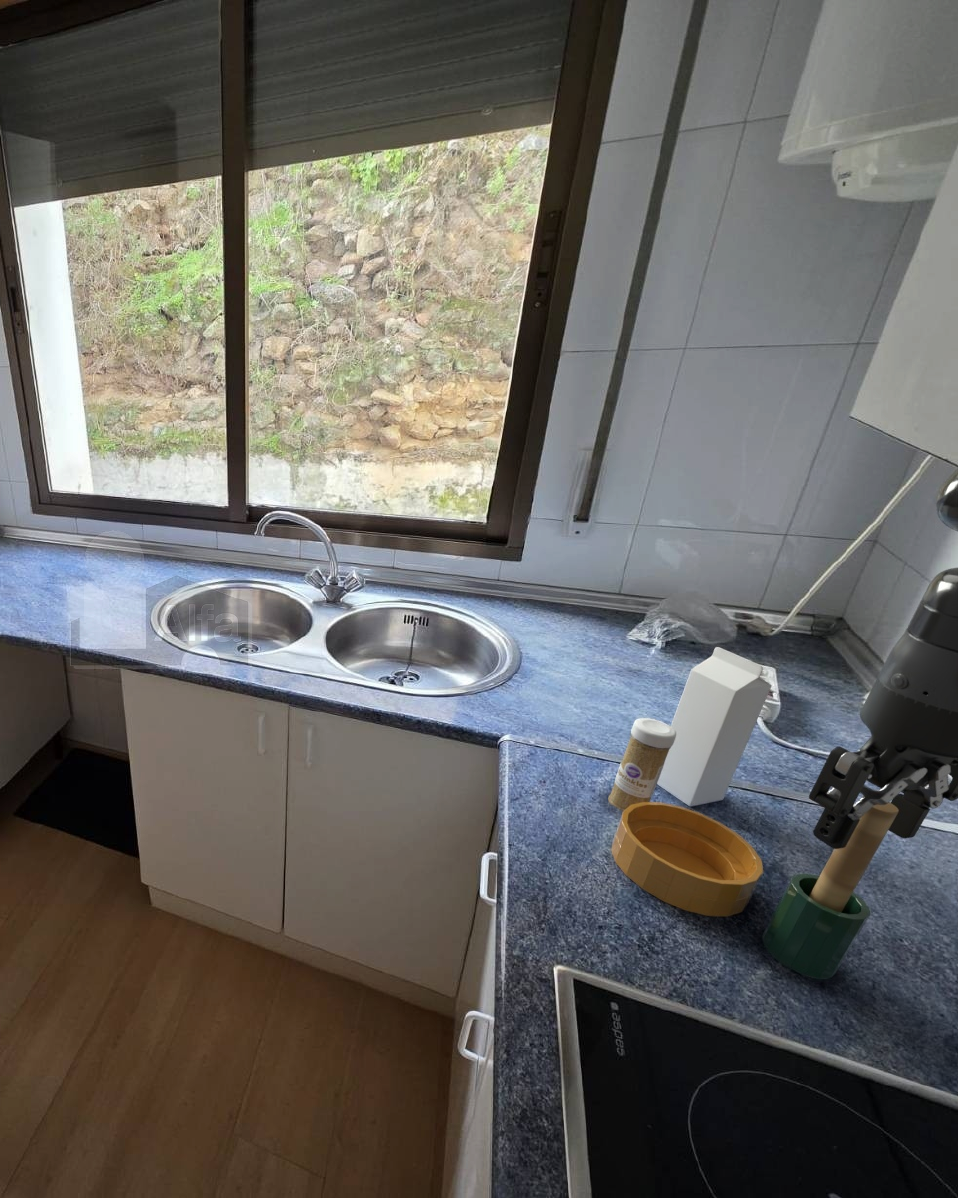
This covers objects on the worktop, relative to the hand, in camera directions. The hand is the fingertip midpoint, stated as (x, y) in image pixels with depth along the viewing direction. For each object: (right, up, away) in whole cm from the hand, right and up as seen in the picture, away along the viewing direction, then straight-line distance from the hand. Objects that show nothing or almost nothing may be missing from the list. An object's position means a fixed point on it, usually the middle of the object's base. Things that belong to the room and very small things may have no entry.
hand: (861, 836), depth 60 cm
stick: (0, -15, +6) cm, 16 cm away
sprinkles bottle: (-2, -6, +28) cm, 29 cm away
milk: (+9, -5, +31) cm, 33 cm away
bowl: (-4, -11, +17) cm, 21 cm away
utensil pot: (0, -15, +6) cm, 17 cm away
